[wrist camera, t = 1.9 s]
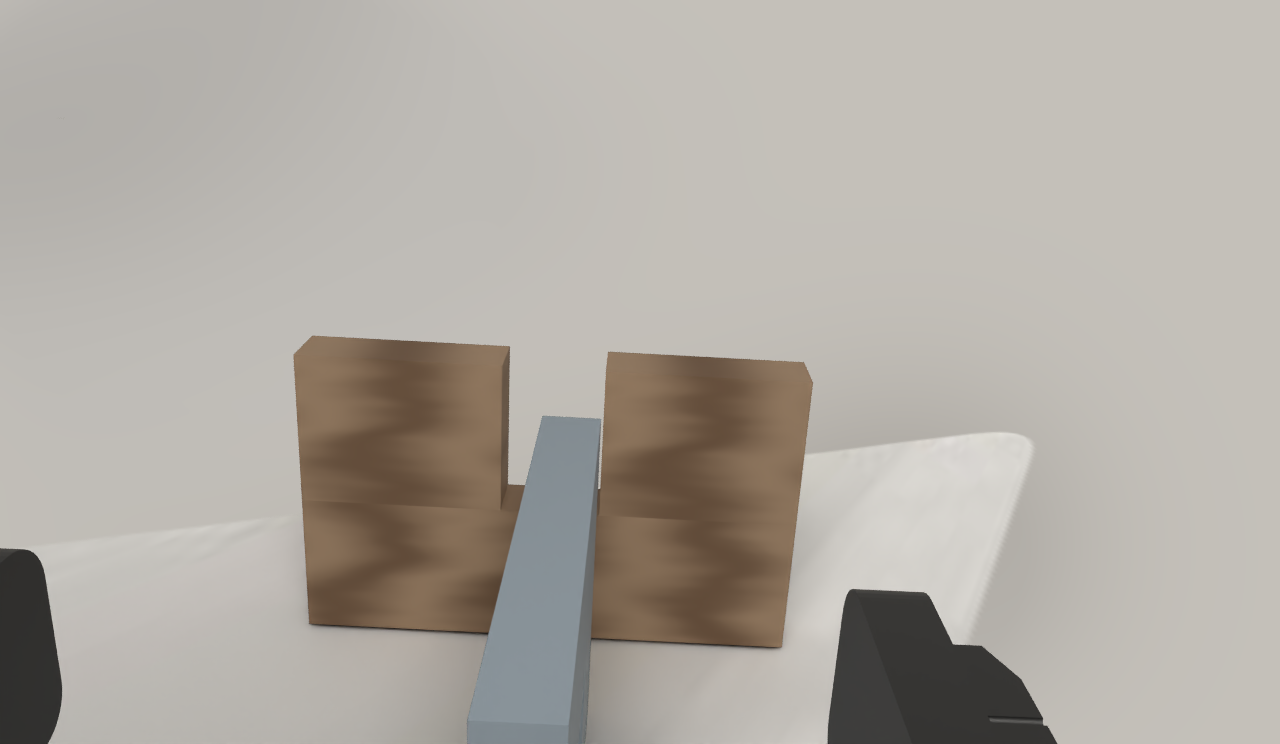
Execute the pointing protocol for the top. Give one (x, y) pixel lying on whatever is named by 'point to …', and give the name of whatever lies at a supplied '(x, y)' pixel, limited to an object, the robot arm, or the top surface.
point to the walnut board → (488, 506)
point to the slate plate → (544, 599)
